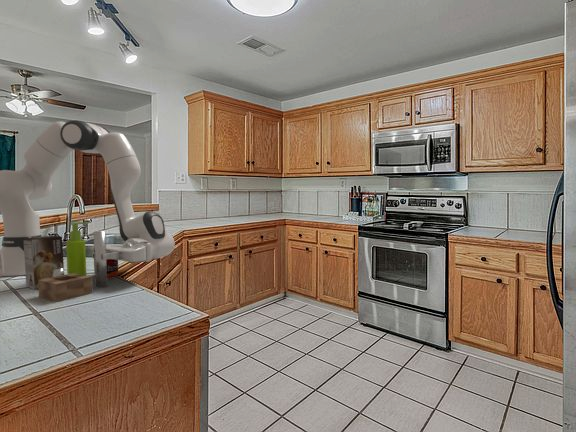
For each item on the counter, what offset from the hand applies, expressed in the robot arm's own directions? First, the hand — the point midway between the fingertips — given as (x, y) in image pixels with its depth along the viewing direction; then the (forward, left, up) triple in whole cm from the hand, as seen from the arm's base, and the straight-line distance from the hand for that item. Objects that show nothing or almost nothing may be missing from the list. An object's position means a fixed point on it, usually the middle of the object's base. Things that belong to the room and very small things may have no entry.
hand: (97, 256), depth 112 cm
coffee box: (-18, -7, -10) cm, 22 cm away
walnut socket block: (0, -10, -10) cm, 14 cm away
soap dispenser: (-20, +5, -10) cm, 23 cm away
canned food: (-11, +10, -10) cm, 18 cm away
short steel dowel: (-12, -6, -10) cm, 17 cm away
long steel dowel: (0, +1, -10) cm, 10 cm away
